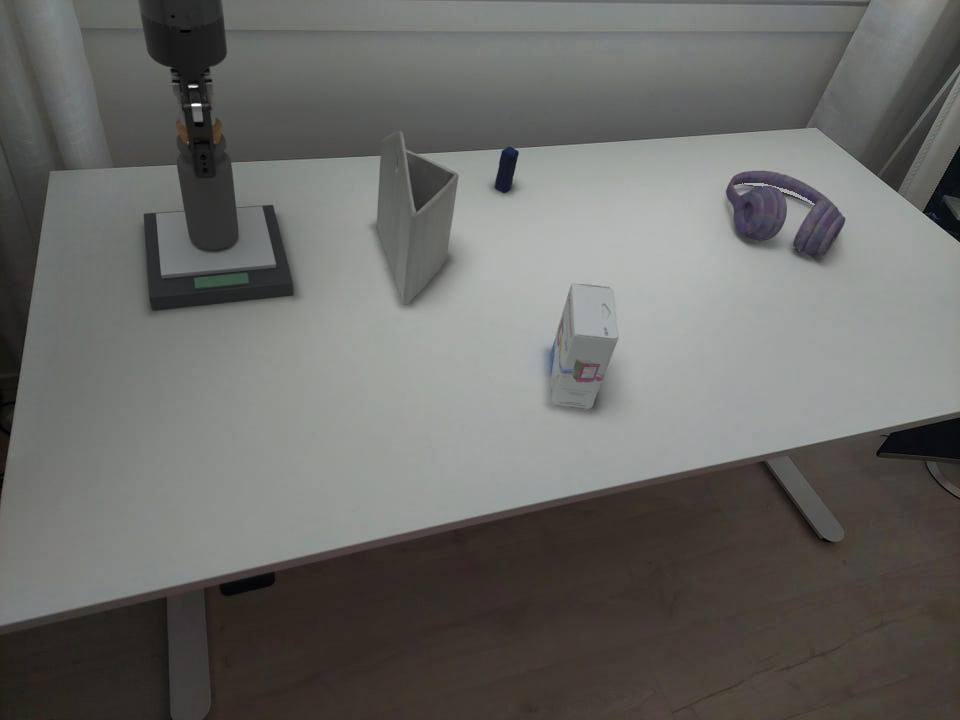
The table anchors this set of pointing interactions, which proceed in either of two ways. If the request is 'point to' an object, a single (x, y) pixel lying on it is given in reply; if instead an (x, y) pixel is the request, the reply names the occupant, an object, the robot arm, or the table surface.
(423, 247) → the planter
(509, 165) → the eraser
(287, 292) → the scale
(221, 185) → the bottle
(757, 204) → the headphones
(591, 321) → the ink box
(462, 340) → the table surface
